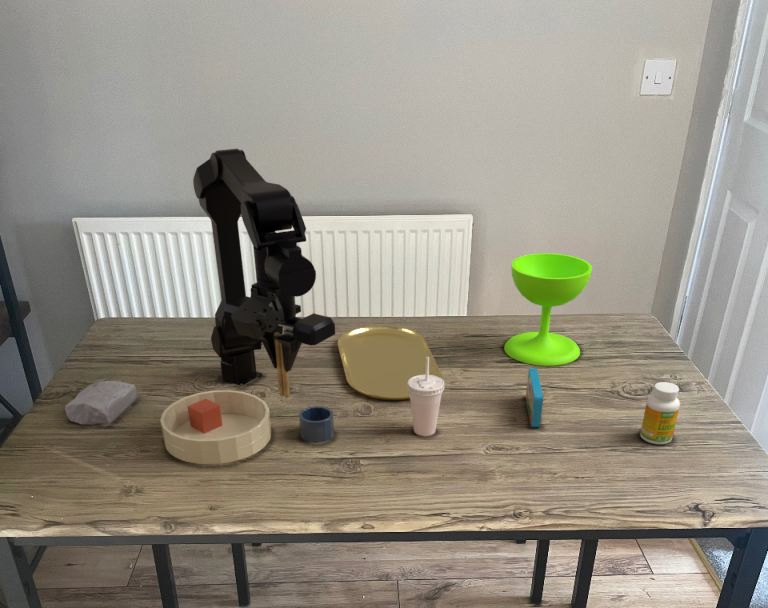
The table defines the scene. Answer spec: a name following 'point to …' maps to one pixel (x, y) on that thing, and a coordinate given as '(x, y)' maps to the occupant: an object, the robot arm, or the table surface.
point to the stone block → (101, 402)
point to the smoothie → (425, 401)
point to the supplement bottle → (661, 414)
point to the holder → (316, 424)
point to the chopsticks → (281, 369)
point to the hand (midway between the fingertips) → (282, 369)
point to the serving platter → (384, 360)
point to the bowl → (226, 443)
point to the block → (205, 415)
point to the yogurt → (534, 397)
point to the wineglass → (547, 305)
